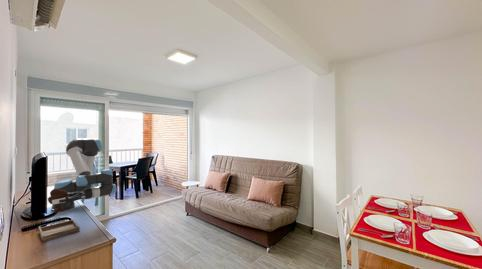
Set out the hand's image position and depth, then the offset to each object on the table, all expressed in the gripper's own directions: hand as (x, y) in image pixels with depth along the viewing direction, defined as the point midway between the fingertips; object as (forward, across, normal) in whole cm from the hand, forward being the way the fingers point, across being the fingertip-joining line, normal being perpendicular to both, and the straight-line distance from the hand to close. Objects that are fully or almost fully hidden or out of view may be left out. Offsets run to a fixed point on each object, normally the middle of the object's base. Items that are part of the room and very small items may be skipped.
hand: (50, 200), depth 134 cm
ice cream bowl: (-4, 0, -8) cm, 9 cm away
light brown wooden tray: (-4, -3, -21) cm, 21 cm away
